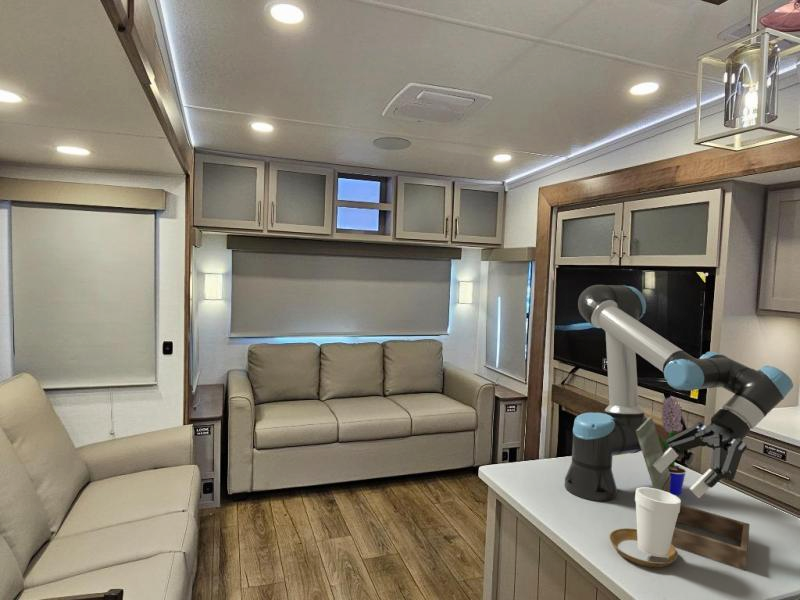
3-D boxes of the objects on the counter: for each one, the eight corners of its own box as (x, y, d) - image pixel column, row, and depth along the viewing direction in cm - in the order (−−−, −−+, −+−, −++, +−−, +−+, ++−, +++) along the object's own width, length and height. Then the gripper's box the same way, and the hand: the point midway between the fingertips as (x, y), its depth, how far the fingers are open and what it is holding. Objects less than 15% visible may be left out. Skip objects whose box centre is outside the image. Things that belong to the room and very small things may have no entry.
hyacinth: (695, 499, 145) (702, 402, 144) (659, 494, 147) (665, 399, 146) (684, 486, 154) (691, 395, 152) (650, 482, 156) (656, 392, 154)
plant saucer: (692, 567, 110) (692, 556, 110) (643, 578, 106) (644, 567, 105) (640, 534, 124) (641, 524, 124) (595, 543, 119) (596, 532, 119)
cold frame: (629, 531, 124) (635, 429, 123) (642, 509, 137) (648, 416, 136) (745, 570, 109) (753, 454, 108) (748, 541, 122) (756, 437, 121)
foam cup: (661, 564, 106) (667, 506, 106) (622, 544, 113) (627, 490, 113) (683, 555, 111) (688, 500, 111) (644, 537, 118) (649, 485, 118)
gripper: (792, 448, 103) (723, 517, 102) (707, 414, 128) (651, 470, 127) (771, 424, 102) (702, 493, 102) (690, 395, 127) (634, 450, 126)
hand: (674, 480), depth 114 cm, fingers open, 13 cm apart
